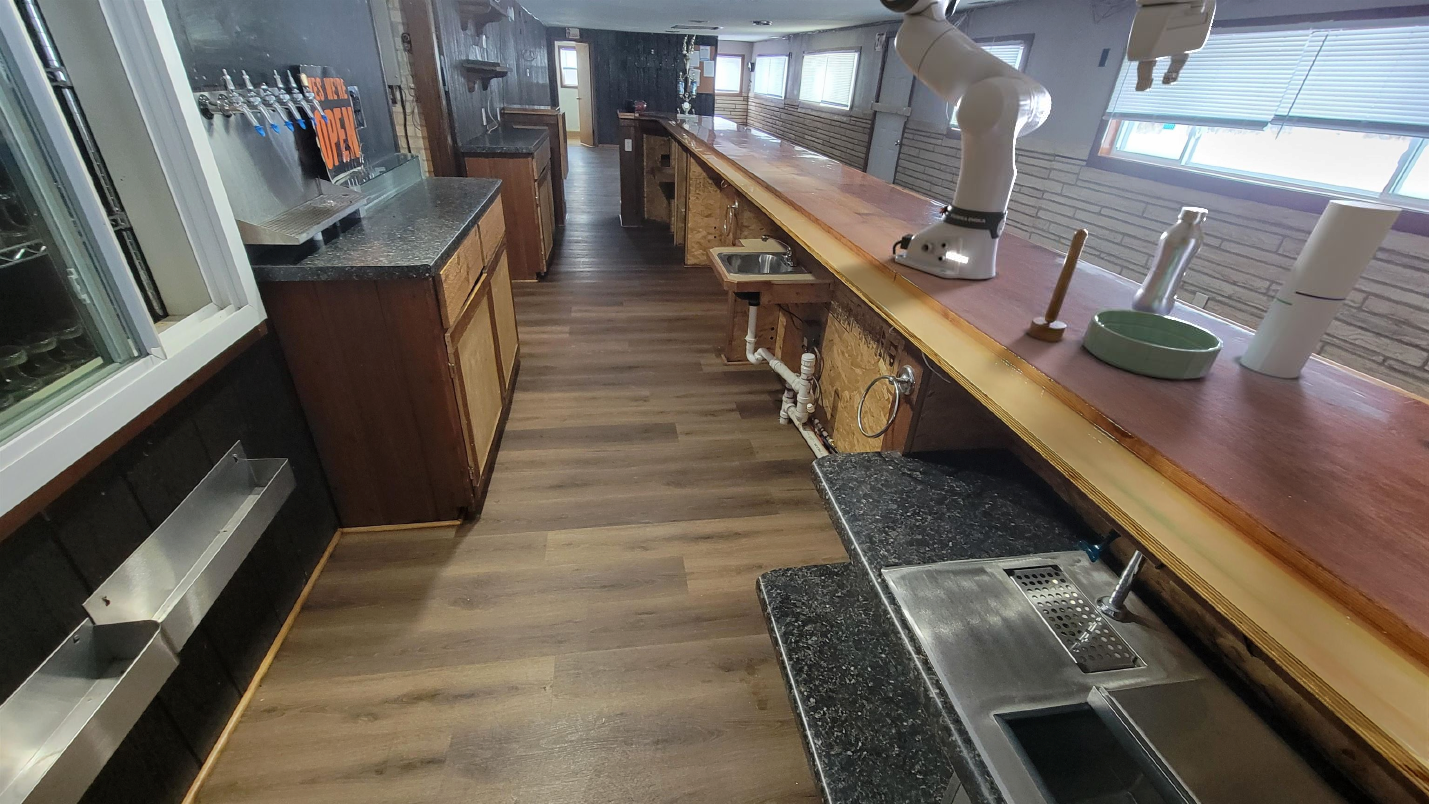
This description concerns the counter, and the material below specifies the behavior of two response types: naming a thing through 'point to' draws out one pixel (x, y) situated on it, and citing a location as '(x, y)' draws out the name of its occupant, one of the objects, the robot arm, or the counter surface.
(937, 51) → the robot arm
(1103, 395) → the counter surface
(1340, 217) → the cylindrical container
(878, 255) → the counter surface
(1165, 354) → the bowl
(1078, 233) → the brown stick
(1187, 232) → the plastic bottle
